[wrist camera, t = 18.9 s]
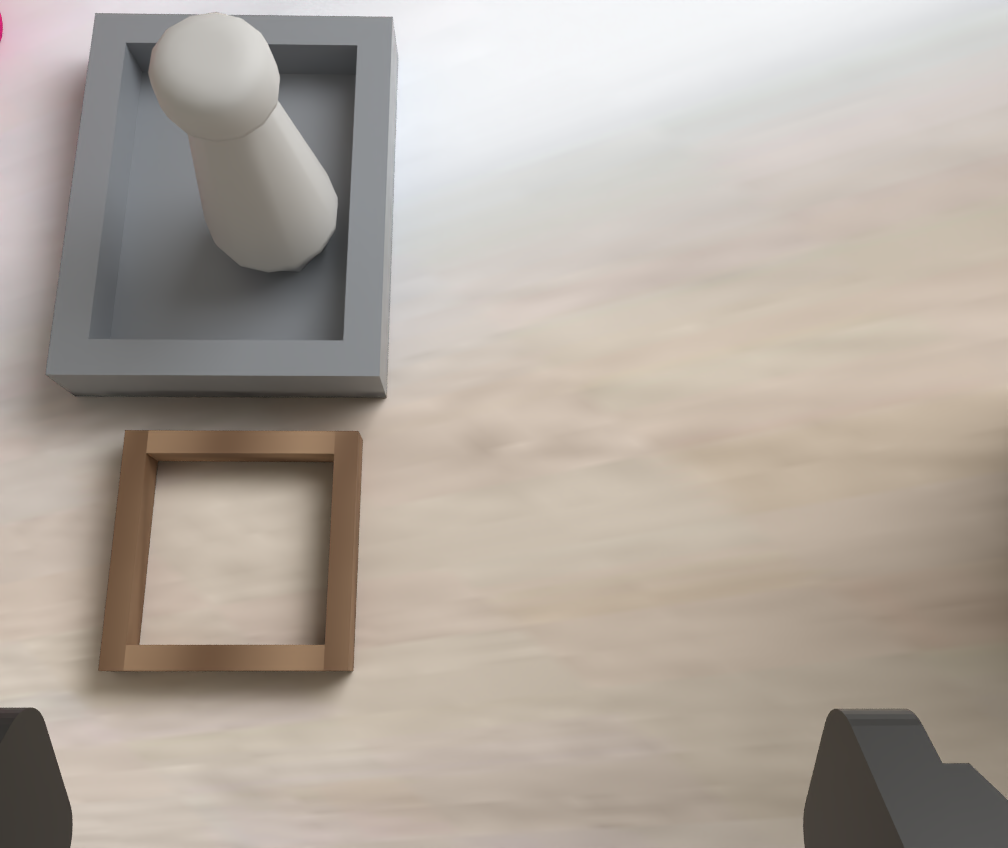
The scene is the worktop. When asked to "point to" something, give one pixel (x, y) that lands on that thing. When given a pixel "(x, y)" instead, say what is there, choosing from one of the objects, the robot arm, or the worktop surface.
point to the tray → (191, 249)
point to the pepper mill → (1, 27)
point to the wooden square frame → (135, 538)
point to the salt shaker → (243, 143)
